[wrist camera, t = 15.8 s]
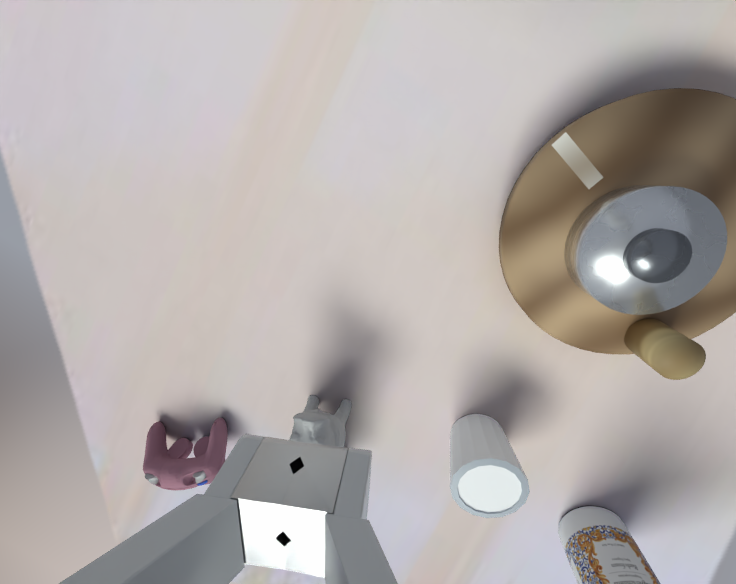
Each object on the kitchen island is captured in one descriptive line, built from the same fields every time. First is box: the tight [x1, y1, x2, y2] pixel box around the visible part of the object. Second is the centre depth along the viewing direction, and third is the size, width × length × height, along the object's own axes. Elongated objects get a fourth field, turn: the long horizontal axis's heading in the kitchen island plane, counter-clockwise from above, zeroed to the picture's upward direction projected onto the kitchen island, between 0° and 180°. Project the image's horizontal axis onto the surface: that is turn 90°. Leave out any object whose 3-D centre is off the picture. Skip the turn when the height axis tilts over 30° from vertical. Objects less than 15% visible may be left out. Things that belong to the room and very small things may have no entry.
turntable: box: [499, 88, 736, 380], centre depth 25 cm, size 20×20×6 cm
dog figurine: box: [290, 395, 352, 447], centre depth 34 cm, size 5×13×11 cm, turn 177°
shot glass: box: [450, 414, 530, 518], centre depth 34 cm, size 7×7×7 cm
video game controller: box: [143, 418, 227, 490], centre depth 41 cm, size 10×5×7 cm, turn 100°
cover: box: [564, 185, 727, 315], centre depth 25 cm, size 9×9×4 cm
